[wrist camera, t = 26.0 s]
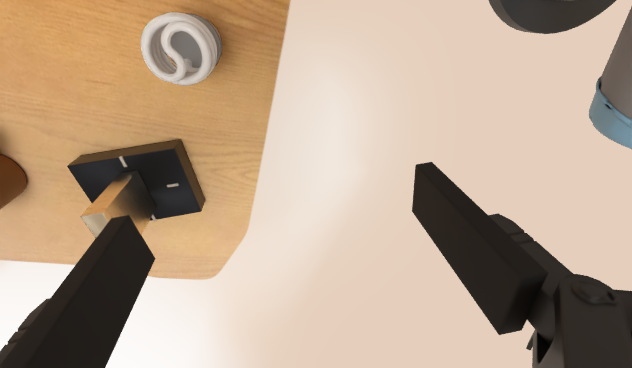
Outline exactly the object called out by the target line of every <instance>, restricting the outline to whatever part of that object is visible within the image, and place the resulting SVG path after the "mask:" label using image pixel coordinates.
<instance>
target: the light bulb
mask: <svg viewBox="0 0 632 368" xmlns="http://www.w3.org/2000/svg"><path fill="white" fill-rule="evenodd" d="M141 50H142V56H143V58H144V60H145V62H146V64H147V66H148V67H149V69H150V70H151V72H152V73H153V74H154V75H156V76H157V77H158V78H160V79H162V80H163V81H167V82H172V83H174V84H177V85H185V86H187V85H193V84H196V83H198V82H200V81H202V80H204V79H205V78H206V77H208V75H209V74H210V73H211V72H212V70H213V69H214V67H215V66H216V65H217V63H218V61H219V59H220V56H221V54H222V40H221V36H220V34H219V32H218V30H217V29H216V28H215V26H214V25H213V24H212V23H210V22H209V21H208V20H206V19H205V18H203V17H201V16H197V15H194V14H184V13H177V12H168V13H165V14H162V15H160V16H157V17H155V18H154V19H152V20H151V21H150V22H149V23H148V24H147V25H146V26H145V28H144V30H143V33H142V36H141ZM167 55H168V56H169V57H170V58H171V60H172V61H173V62H174V63H175V64H176V65H177V67H176V66H175V65H174V64H173V63H172V62H171V61H170V59H169V58H168V56H167ZM186 71H187V72H186Z"/></svg>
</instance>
